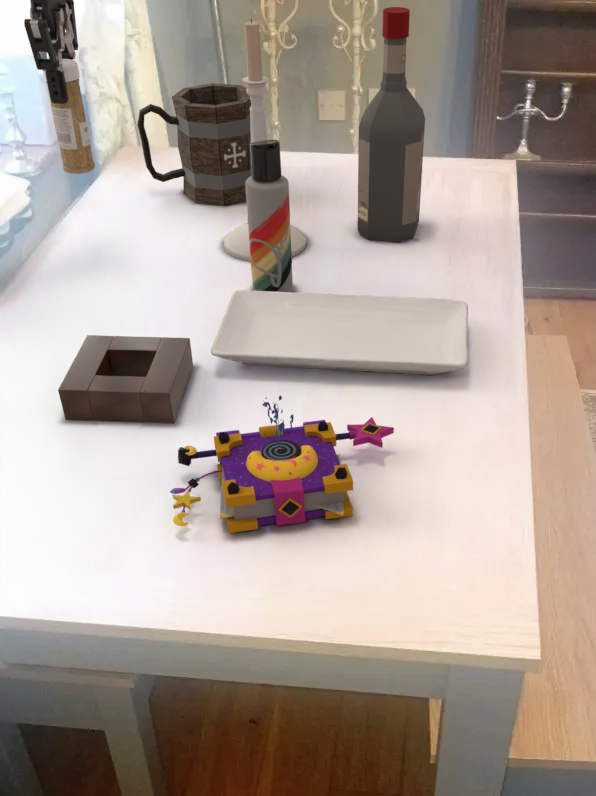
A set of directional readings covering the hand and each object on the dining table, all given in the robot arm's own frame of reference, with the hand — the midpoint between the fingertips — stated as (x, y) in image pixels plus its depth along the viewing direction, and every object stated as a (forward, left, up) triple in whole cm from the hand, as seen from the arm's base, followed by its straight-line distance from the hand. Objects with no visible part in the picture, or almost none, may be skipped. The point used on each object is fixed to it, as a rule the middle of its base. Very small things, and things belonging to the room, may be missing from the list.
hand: (65, 96), depth 121 cm
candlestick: (+25, +6, -22) cm, 34 cm away
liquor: (+44, +12, -22) cm, 51 cm away
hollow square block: (+14, -38, -22) cm, 46 cm away
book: (+35, -56, -22) cm, 70 cm away
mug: (+12, +27, -22) cm, 37 cm away
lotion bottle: (+28, -10, -22) cm, 37 cm away
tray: (+39, -26, -22) cm, 52 cm away
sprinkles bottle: (0, 0, -10) cm, 10 cm away
